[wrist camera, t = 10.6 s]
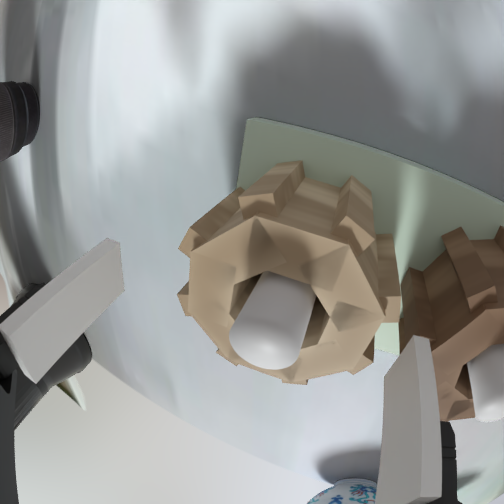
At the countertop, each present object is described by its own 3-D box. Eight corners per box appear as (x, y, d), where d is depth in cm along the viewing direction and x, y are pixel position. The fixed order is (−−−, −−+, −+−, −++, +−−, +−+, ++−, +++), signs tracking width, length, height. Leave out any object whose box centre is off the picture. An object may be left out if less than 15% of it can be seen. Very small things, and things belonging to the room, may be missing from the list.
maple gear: (218, 286, 21) (173, 346, 16) (237, 144, 16) (176, 172, 11) (354, 332, 19) (343, 407, 14) (415, 197, 14) (441, 253, 9)
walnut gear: (394, 357, 19) (391, 430, 14) (400, 229, 15) (415, 296, 10) (511, 348, 15) (530, 413, 10) (545, 224, 11) (595, 280, 6)
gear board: (230, 285, 23) (161, 383, 15) (256, 116, 16) (152, 146, 8) (476, 361, 18) (491, 465, 10) (557, 233, 12) (629, 326, 4)
